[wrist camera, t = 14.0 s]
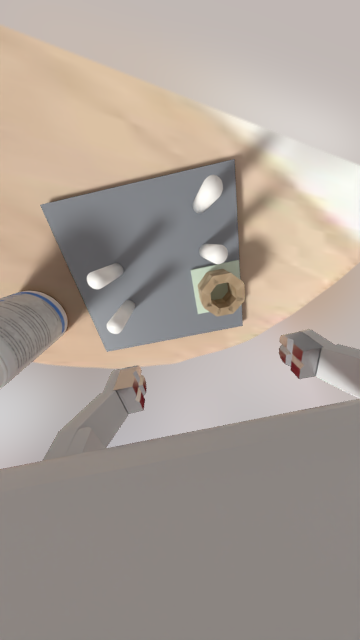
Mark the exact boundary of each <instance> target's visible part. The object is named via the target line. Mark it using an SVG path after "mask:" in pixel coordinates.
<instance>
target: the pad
mask: <svg viewBox="0 0 360 640" xmlns="http://www.w3.org/2000/svg"><path fill="white" fill-rule="evenodd" d="M219 269H224V270H226V271H228V272H230V273H232V274H233V275H234V276H236V277H237V278H238V279H240V268H239V260H235V261H230V262H225V263H221V264H216V265H211V266H206V267H202V268H197V269H192V270H191V276H192V282H193V288H194V294H195V300H196V306H197V312H198V314H202V313H207V312H209V311H208V310H206V309H205V308H204V307H203V305H202V303H201V301H200V298H199V291H198V284H199V282H200V281H201V280H202V278H203V277H204V275H205V274H206V273H207V272H209V271H214V270H219ZM227 292H228V282H227V283H222V284H217V285H216V287H215V288H214V289H213V291H212V292H211V293H210V294H211V299H213V300H217V299H222V298H223V297H224V296H225V294H226V293H227ZM240 306H241V305H240Z"/></svg>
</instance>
